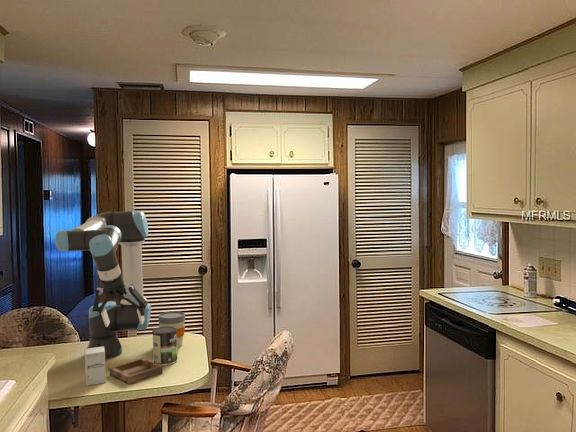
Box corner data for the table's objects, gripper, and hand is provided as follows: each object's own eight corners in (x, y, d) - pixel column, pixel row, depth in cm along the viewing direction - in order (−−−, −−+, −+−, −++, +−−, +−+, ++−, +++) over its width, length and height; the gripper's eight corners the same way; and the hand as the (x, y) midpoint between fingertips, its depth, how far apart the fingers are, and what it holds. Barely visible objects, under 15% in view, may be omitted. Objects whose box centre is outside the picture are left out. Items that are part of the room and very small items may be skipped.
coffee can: (181, 357, 218) (180, 326, 217) (171, 366, 208) (170, 333, 207) (159, 356, 221) (158, 325, 219) (148, 365, 210) (147, 332, 209)
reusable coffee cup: (158, 342, 239) (157, 312, 238) (184, 340, 243) (183, 310, 242) (159, 351, 227) (158, 319, 226) (187, 348, 231) (186, 316, 230)
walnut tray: (109, 375, 200) (109, 367, 200) (142, 364, 211) (142, 357, 211) (128, 385, 190) (128, 377, 190) (162, 373, 201) (162, 366, 201)
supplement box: (86, 386, 190) (84, 354, 189) (85, 379, 196) (84, 348, 195) (106, 383, 192) (105, 351, 192) (105, 376, 199) (104, 345, 198)
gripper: (72, 284, 175) (89, 332, 184) (141, 279, 174) (154, 327, 183) (81, 273, 182) (97, 319, 191) (147, 267, 180) (160, 314, 190)
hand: (125, 323), depth 187 cm, fingers open, 13 cm apart
